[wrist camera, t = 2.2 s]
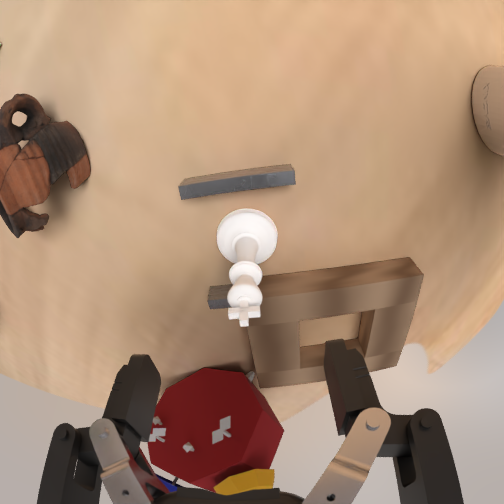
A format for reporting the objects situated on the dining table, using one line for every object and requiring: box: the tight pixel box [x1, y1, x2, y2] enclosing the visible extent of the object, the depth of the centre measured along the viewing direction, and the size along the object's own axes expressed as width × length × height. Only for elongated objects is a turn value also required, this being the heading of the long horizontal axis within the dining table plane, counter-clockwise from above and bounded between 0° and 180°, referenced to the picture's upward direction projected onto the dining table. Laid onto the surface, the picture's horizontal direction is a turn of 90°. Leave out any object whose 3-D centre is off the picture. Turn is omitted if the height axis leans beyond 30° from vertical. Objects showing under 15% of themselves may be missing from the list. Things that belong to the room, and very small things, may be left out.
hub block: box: [247, 257, 424, 388], centre depth 26 cm, size 16×13×3 cm
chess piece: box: [217, 208, 278, 327], centre depth 19 cm, size 5×5×10 cm
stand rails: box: [178, 164, 296, 309], centre depth 22 cm, size 8×11×2 cm
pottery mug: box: [0, 94, 90, 238], centre depth 17 cm, size 12×10×8 cm
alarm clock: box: [148, 368, 284, 495], centre depth 24 cm, size 15×9×20 cm, turn 115°
